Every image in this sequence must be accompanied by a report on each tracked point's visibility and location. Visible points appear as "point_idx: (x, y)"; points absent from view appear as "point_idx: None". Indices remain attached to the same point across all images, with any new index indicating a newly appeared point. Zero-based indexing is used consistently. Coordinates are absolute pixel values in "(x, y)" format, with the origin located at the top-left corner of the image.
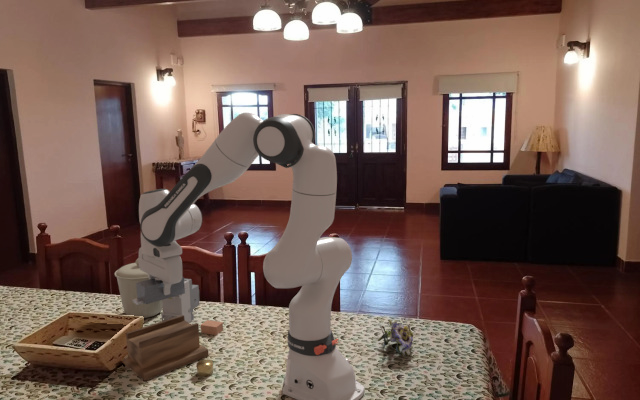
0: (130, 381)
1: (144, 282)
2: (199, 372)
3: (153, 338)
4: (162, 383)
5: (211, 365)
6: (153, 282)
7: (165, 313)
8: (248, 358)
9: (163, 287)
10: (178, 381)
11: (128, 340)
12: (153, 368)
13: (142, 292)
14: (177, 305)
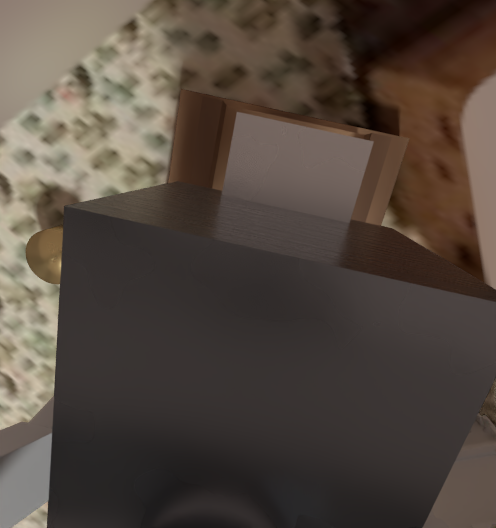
0: (230, 61)
1: (352, 405)
2: (59, 226)
3: (197, 178)
4: (125, 123)
5: (29, 262)
6: (188, 477)
7: (492, 451)
8: (46, 375)
9: (19, 444)
10: (94, 163)
11: (357, 134)
12: (189, 141)
13: (227, 213)
14: (450, 503)
